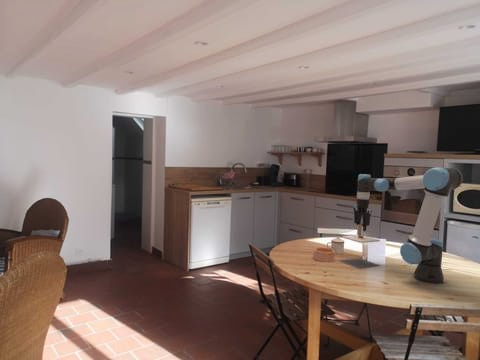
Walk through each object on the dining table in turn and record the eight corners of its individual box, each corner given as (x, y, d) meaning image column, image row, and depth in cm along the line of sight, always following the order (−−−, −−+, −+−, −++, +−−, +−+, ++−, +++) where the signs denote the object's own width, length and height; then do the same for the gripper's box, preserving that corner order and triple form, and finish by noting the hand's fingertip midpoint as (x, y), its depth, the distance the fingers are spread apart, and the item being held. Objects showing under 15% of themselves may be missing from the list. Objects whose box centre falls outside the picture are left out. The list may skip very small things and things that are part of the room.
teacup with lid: (343, 252, 261) (344, 236, 260) (344, 255, 252) (345, 238, 252) (326, 250, 264) (327, 234, 263) (326, 253, 255) (327, 237, 254)
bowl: (338, 261, 235) (339, 251, 235) (322, 263, 229) (323, 253, 229) (325, 256, 247) (325, 247, 247) (309, 258, 241) (310, 248, 241)
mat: (381, 266, 228) (381, 265, 228) (359, 269, 219) (359, 268, 219) (359, 258, 245) (359, 257, 245) (337, 261, 236) (337, 260, 236)
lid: (379, 241, 228) (380, 225, 227) (360, 243, 220) (361, 226, 220) (360, 236, 242) (361, 221, 241) (342, 237, 235) (343, 222, 234)
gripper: (377, 200, 224) (375, 237, 226) (358, 197, 239) (356, 232, 240) (368, 200, 221) (366, 238, 222) (349, 197, 235) (347, 233, 236)
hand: (360, 235), depth 231 cm, fingers closed on lid, 3 cm apart
